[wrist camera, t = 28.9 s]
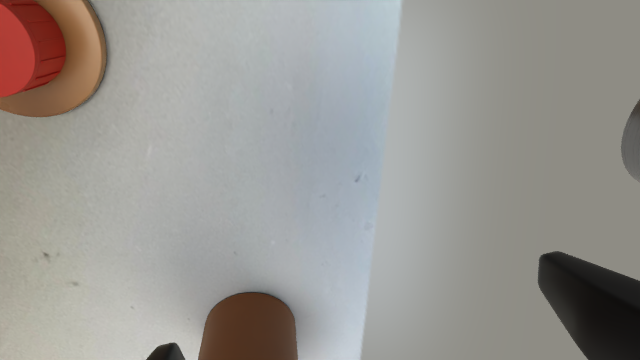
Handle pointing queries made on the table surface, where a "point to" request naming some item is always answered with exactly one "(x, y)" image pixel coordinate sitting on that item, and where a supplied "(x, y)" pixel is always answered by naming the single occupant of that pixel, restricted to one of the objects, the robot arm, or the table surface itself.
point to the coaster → (67, 63)
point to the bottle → (249, 330)
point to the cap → (28, 47)
